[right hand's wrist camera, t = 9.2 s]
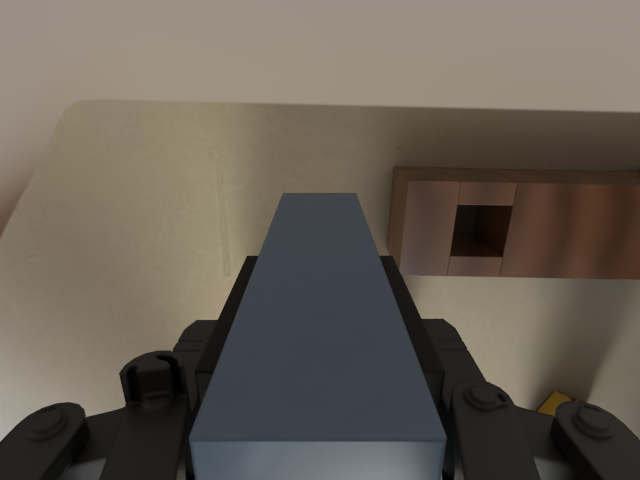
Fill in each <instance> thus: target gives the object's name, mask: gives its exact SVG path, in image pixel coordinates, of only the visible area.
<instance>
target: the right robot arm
mask: <svg viewBox="0 0 640 480" xmlns="http://www.w3.org/2000/svg"><path fill="white" fill-rule="evenodd" d="M258 257H259V256H247V257H246V260H245V262H244V264H243V266H242V268H241V270H240V273H239V275H238V277H237V279H236V281H235V284H234V286H233V288H232V290H231V292H230V295H229V297H228V299H227V301H226V303H225V305H224V308H223V310H222V312H221V314H220V316H219V319H218V320H196V321H195V322H194V323H192V324H191V325H190V326H188V327H187V328H186V329H185V330H184V331H183V333H182V335H181V337H180V338H179V340H178V343H176V345H175V347H174V349H173V352H172V351H154V352H150V353H146V354H143V355H141V356H139V357H136V358H134V359H133V360H132V361H130V362H129V363H128V364H126V365H125V366H124V367H123V369H122V370H121V372H120V373H119V374H120V379H121V383H122V388H123V393H124V397H125V402H126V406H125V407H123V408H121V409H117V410H114V411H110V412H106V413H102V414H98V415H93V416H89V417H86V415H85V411H84V409H83V408H82V407H81V406H80V405H79V404H75V403H70V402H66V403H57V404H53V405H50V406H47V407H44V408H41V409H40V410H38V411H36V412H34V413H32V414H30V415H28V416H27V417H26V418H25V419H24V420H22V421H21V422H20V423H19V424H17V425H16V426H15V427H14V428H13V429H12V430H11V431H10V432H9V433H8V435H7V436H6V437H5V438H4V439H3V440H2V441H1V442H0V480H195V475H194V469H193V462H192V456H191V449H190V443H189V435H190V433H191V430H192V428H193V425H194V422H195V420H196V417H197V415H198V412H199V409H200V407H201V404H202V402H203V399H204V397H205V394H206V391H207V389H208V386H209V384H210V381H211V378H212V376H213V373H214V371H215V368H216V365H217V363H218V360H219V358H220V355H221V352H222V350H223V347H224V345H225V342H226V339H227V337H228V334H229V332H230V329H231V327H232V324H233V321H234V319H235V316H236V314H237V311H238V308H239V306H240V303H241V301H242V298H243V295H244V293H245V290H246V288H247V285H248V282H249V280H250V277H251V275H252V272H253V269H254V267H255V264H256V262H257V259H258ZM379 257H380V260H381V262H382V265H383V268H384V270H385V273H386V276H387V278H388V281H389V284H390V286H391V289H392V292H393V294H394V297H395V300H396V302H397V305H398V308H399V310H400V313H401V316H402V318H403V321H404V324H405V327H406V329H407V332H408V335H409V337H410V340H411V343H412V345H413V348H414V351H415V353H416V356H417V359H418V361H419V364H420V367H421V369H422V372H423V375H424V377H425V380H426V383H427V385H428V388H429V391H430V393H431V396H432V399H433V401H434V404H435V407H436V410H437V412H438V415H439V418H440V420H441V423H442V426H443V428H444V431H445V434H446V436H447V440H446V447H445V453H444V460H443V467H442V473H441V480H640V440H639V439H638V438H637V437H636V436H635V435H634V434H633V432H632V431H631V430H630V429H629V428H628V427H627V426H626V425H625V424H624V423H623V422H621V421H620V420H619V419H618V418H616V417H615V416H614V415H613V414H611V413H609V412H607V411H606V410H604V409H602V408H600V407H598V406H595V405H592V404H589V403H586V402H580V401H567V402H562V403H561V404H560V405H558V406H557V407H556V410H555V413H554V416H553V415H549V414H545V413H540V412H536V411H532V410H528V409H524V408H521V407H518V406H516V405H514V403H513V401H512V400H511V398H510V396H509V395H508V394H507V393H505V392H504V391H503V390H502V389H501V388H499V387H497V386H495V385H493V384H491V383H489V382H486V380H485V378H484V376H483V375H482V373H481V371H480V370H479V368H478V366H477V364H476V363H475V361H474V359H473V358H472V356H471V354H470V353H469V351H467V347H466V346H465V344H464V342H463V341H462V339H461V337H460V335H459V334H458V332H457V330H456V329H455V328H454V327H453V326H452V325H450V324H449V323H448V322H447V321H445V320H444V319H421V317H420V315H419V313H418V310H417V308H416V306H415V304H414V302H413V299H412V297H411V295H410V293H409V291H408V289H407V286H406V284H405V282H404V280H403V278H402V275H401V273H400V271H399V269H398V267H397V264H396V262H395V260H394V258H393V256H379Z"/></svg>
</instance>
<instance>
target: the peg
mask: <svg viewBox="0 0 640 480" xmlns="http://www.w3.org/2000/svg"><path fill="white" fill-rule="evenodd" d="M446 440H447V436H446V434H445V431H444V428H443V426H442V423H441V420H440V418H439V415H438V412H437V410H436V407H435V404H434V401H433V399H432V396H431V393H430V391H429V388H428V385H427V383H426V380H425V377H424V375H423V372H422V369H421V367H420V364H419V361H418V359H417V356H416V353H415V351H414V348H413V345H412V343H411V340H410V337H409V335H408V332H407V329H406V327H405V324H404V321H403V318H402V316H401V313H400V310H399V308H398V305H397V302H396V300H395V297H394V294H393V292H392V289H391V286H390V284H389V281H388V278H387V276H386V273H385V270H384V268H383V265H382V262H381V260H380V257H379V254H378V252H377V249H376V246H375V243H374V241H373V238H372V235H371V233H370V230H369V227H368V225H367V222H366V219H365V217H364V214H363V211H362V209H361V206H360V203H359V201H358V198H357V195H356V194H355V193H284V194H282V197H281V199H280V202H279V205H278V207H277V210H276V212H275V215H274V218H273V220H272V223H271V225H270V228H269V231H268V233H267V236H266V238H265V241H264V244H263V246H262V249H261V251H260V254H259V257H258V259H257V262H256V264H255V267H254V269H253V272H252V275H251V277H250V280H249V282H248V285H247V288H246V290H245V293H244V295H243V298H242V301H241V303H240V306H239V308H238V311H237V314H236V316H235V319H234V321H233V324H232V327H231V329H230V332H229V334H228V337H227V339H226V342H225V345H224V347H223V350H222V352H221V355H220V358H219V360H218V363H217V365H216V368H215V371H214V373H213V376H212V378H211V381H210V384H209V386H208V389H207V391H206V394H205V397H204V399H203V402H202V404H201V407H200V409H199V412H198V415H197V417H196V420H195V422H194V425H193V428H192V430H191V433H190V435H189V443H190V449H191V456H192V462H193V469H194V475H195V480H441V473H442V467H443V460H444V453H445V447H446Z"/></svg>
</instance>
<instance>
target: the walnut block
mask: <svg viewBox="0 0 640 480" xmlns="http://www.w3.org/2000/svg"><path fill="white" fill-rule="evenodd" d="M457 204H461V205H479V211H478V217H477V223H476V229H475V233H474V232H453V231H454V224H455V218H456V211H457ZM387 249H388V252H389V254H390V256H393V258H394V260H395V262H396V264H397V267H398V269H399V271H400V273H401V275H419V276H474V277H528V278H578V279H629V280H640V172H615V171H568V170H522V169H477V168H432V167H394V171H393V182H392V194H391V205H390V216H389V228H388V239H387Z"/></svg>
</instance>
